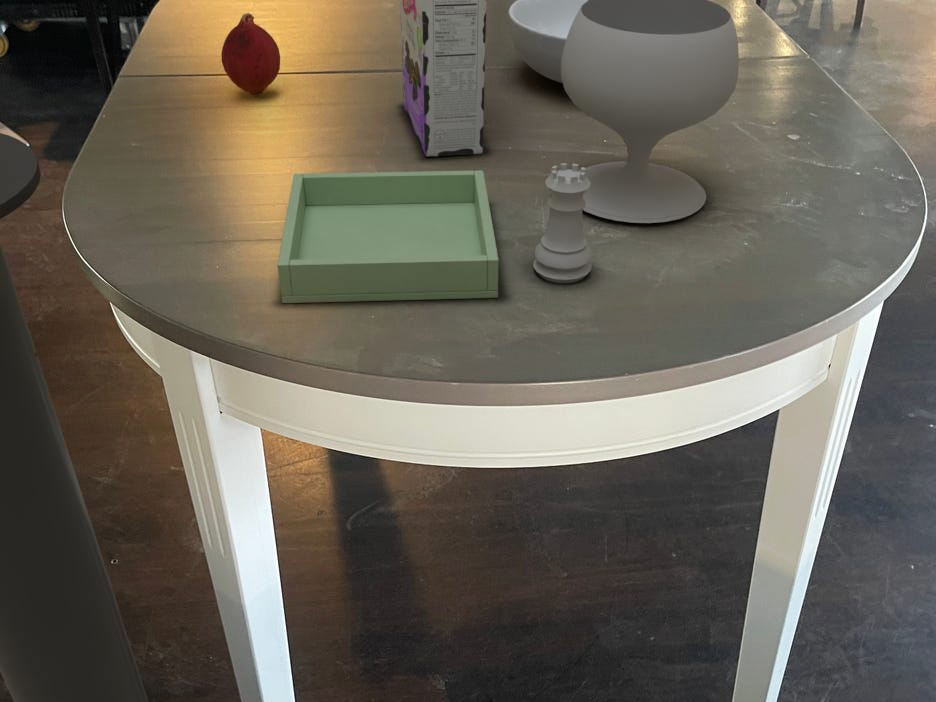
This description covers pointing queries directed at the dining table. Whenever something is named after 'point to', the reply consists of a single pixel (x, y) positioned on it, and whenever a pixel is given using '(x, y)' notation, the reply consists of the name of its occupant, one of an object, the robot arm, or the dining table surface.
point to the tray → (388, 237)
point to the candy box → (445, 73)
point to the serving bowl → (542, 32)
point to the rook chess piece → (564, 228)
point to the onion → (250, 56)
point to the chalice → (648, 94)
